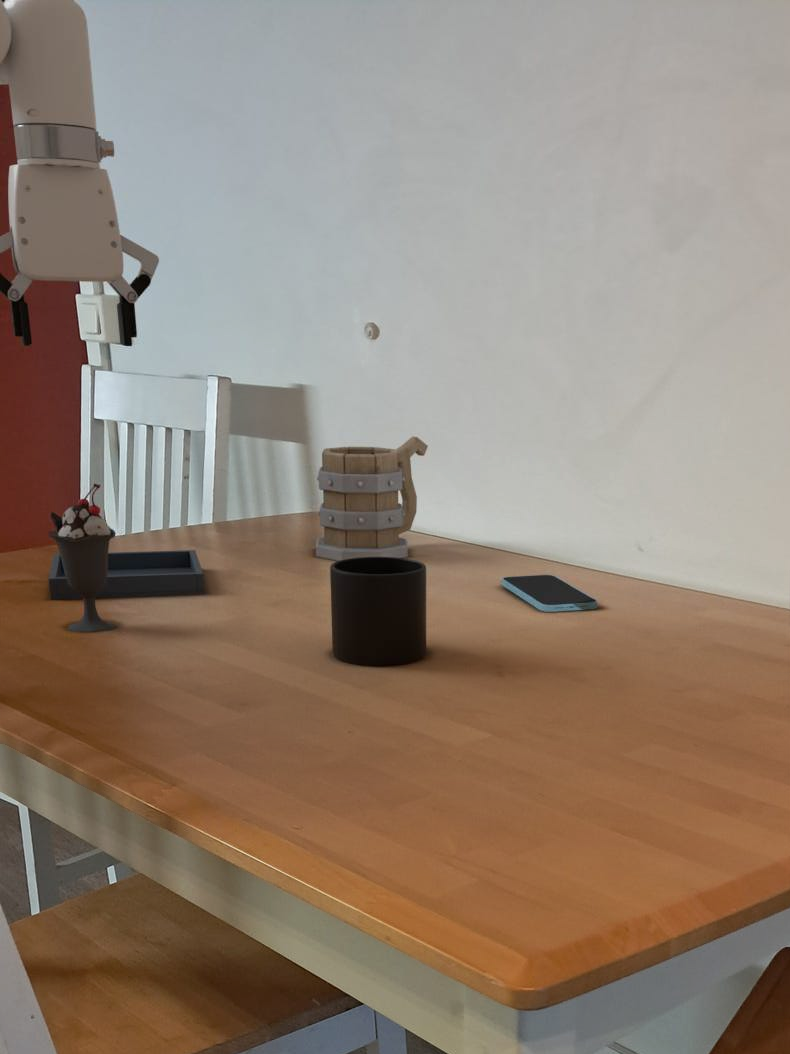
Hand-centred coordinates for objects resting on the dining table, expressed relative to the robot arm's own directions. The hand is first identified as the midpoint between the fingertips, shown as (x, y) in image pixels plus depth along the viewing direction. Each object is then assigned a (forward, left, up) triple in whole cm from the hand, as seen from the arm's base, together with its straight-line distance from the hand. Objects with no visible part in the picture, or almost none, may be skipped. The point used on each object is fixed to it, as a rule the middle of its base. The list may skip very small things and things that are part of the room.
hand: (77, 345), depth 128 cm
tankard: (+38, +37, -28) cm, 60 cm away
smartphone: (+52, +3, -28) cm, 59 cm away
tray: (+3, +20, -28) cm, 35 cm away
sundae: (-1, -2, -28) cm, 29 cm away
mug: (+27, -18, -28) cm, 43 cm away
